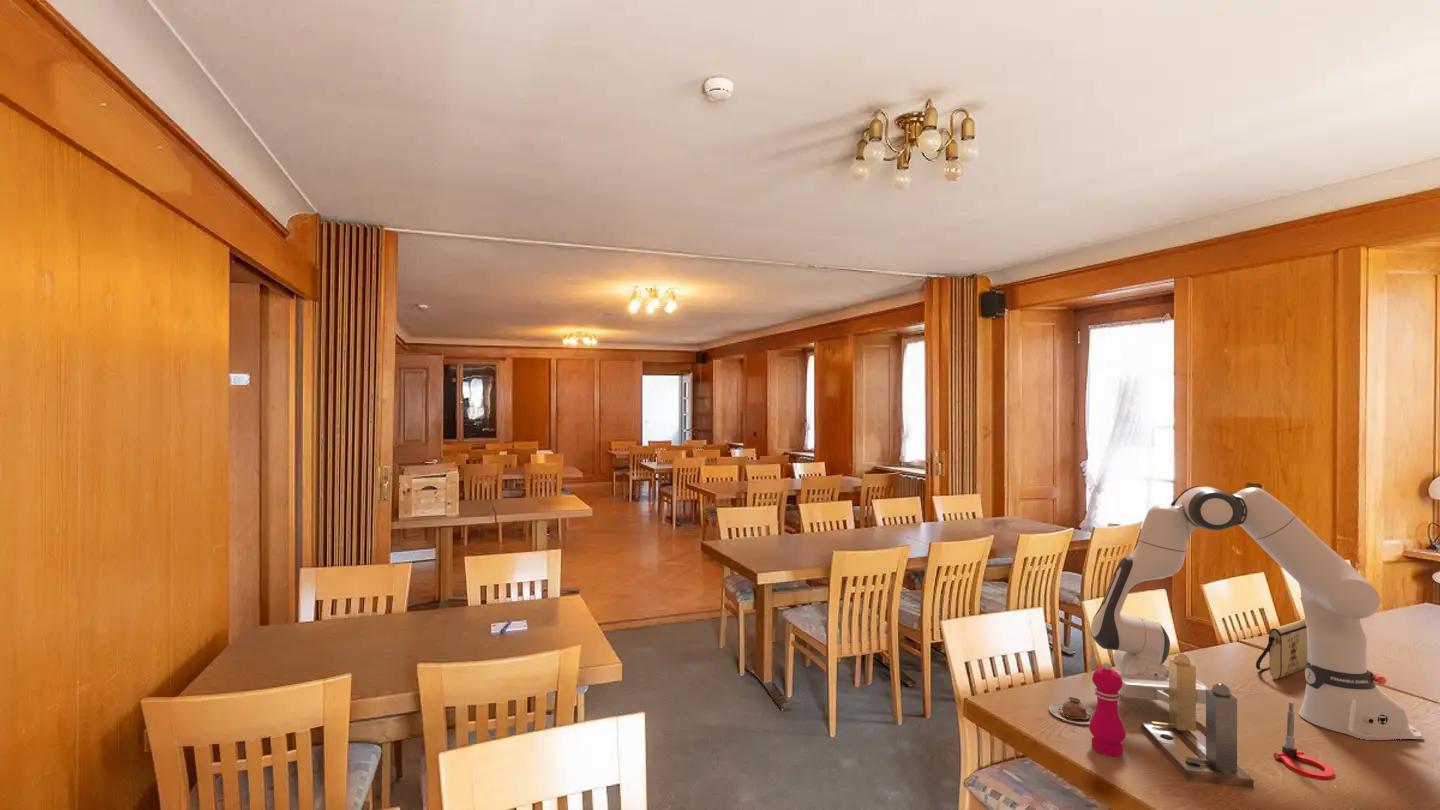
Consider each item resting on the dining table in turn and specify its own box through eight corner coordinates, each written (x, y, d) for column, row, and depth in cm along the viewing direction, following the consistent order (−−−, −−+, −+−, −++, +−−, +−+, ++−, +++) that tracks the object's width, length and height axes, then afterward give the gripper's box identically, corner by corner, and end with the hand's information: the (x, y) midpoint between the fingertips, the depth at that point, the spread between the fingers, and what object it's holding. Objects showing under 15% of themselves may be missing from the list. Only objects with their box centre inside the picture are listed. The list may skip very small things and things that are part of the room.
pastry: (1048, 703, 180) (1048, 686, 180) (1100, 712, 175) (1100, 694, 175) (1049, 722, 169) (1049, 703, 169) (1104, 732, 164) (1104, 713, 164)
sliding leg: (1187, 724, 162) (1187, 652, 163) (1195, 732, 158) (1195, 657, 159) (1148, 721, 164) (1148, 649, 164) (1156, 728, 160) (1156, 655, 160)
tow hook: (1345, 780, 143) (1302, 755, 152) (1347, 720, 143) (1304, 699, 152) (1310, 782, 142) (1269, 758, 151) (1313, 723, 142) (1271, 702, 151)
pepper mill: (1130, 759, 150) (1130, 669, 151) (1095, 755, 152) (1095, 666, 152) (1118, 743, 157) (1118, 657, 158) (1084, 740, 159) (1084, 655, 159)
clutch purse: (1295, 657, 214) (1295, 610, 214) (1323, 664, 208) (1323, 616, 208) (1248, 674, 200) (1248, 624, 200) (1277, 683, 194) (1277, 630, 194)
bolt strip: (1181, 727, 163) (1181, 725, 163) (1233, 775, 141) (1233, 773, 141) (1141, 723, 164) (1141, 722, 164) (1186, 771, 143) (1186, 769, 143)
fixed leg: (1226, 762, 146) (1226, 680, 146) (1237, 772, 142) (1237, 688, 142) (1183, 758, 147) (1182, 677, 147) (1192, 768, 143) (1192, 685, 143)
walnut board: (1194, 732, 163) (1194, 726, 163) (1253, 787, 139) (1253, 779, 139) (1140, 728, 165) (1140, 722, 165) (1189, 780, 142) (1189, 773, 142)
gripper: (1107, 665, 180) (1129, 685, 166) (1193, 670, 176) (1222, 692, 162) (1107, 688, 179) (1129, 711, 166) (1193, 695, 176) (1222, 718, 162)
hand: (1175, 702), depth 164 cm, fingers closed
